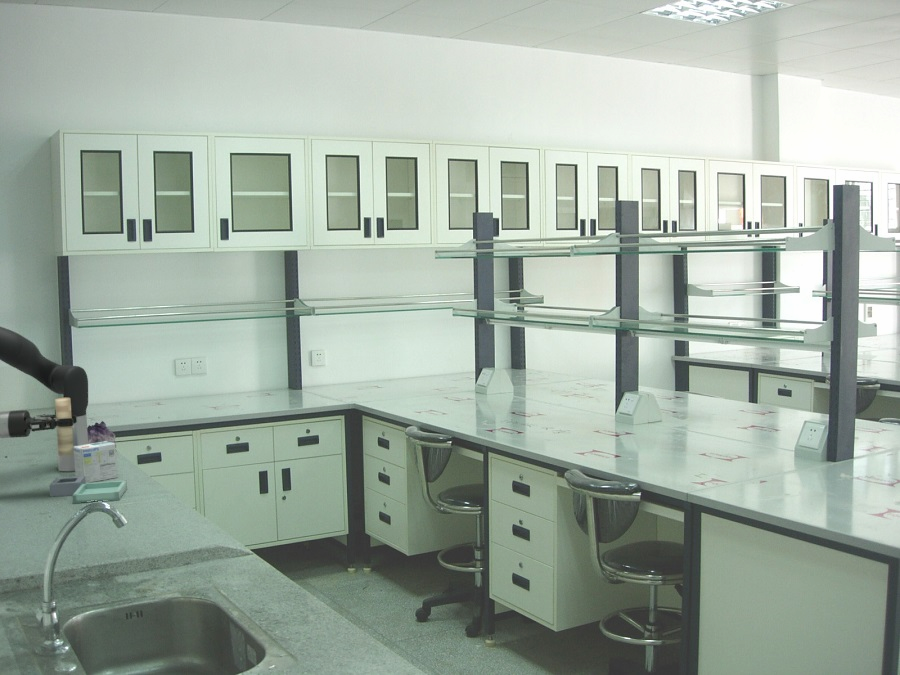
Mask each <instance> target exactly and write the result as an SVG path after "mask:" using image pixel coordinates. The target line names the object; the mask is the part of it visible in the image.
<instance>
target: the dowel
mask: <svg viewBox="0 0 900 675" xmlns="http://www.w3.org/2000/svg"><path fill="white" fill-rule="evenodd" d="M54 403H55V409H56V418H57V419H58V420H59V419H64V418H72V416H71V400H70V398H64V397H58V398H54ZM57 436H58V452H59V455H60V456H66V455H72V454H74V447H73V432H72V426H66V427H58V428H57Z"/></svg>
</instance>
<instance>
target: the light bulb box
mask: <svg viewBox="0 0 900 675" xmlns="http://www.w3.org/2000/svg"><path fill="white" fill-rule="evenodd" d="M115 443H116V442H115ZM115 443H112V442H108V441H104V442H99V443H92V444H86V445H81V446H74V462H75V471H74V473H75V477H81V476H85V481H86V483H96V482H102V481H107V480H111V479H116V478H118V468H117V467H118V466H117V452H116V451H117V447H116V448H115Z"/></svg>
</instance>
